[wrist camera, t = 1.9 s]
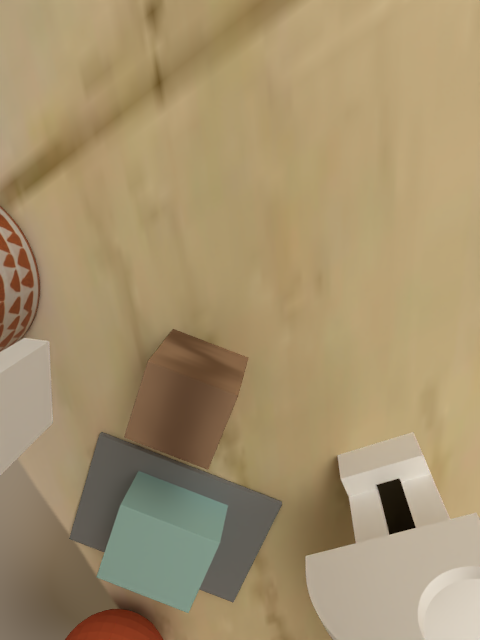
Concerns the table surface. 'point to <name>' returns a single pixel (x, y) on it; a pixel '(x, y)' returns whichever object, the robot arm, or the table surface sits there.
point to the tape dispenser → (398, 557)
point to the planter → (16, 282)
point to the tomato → (115, 627)
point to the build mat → (243, 504)
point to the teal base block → (163, 541)
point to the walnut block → (186, 398)
